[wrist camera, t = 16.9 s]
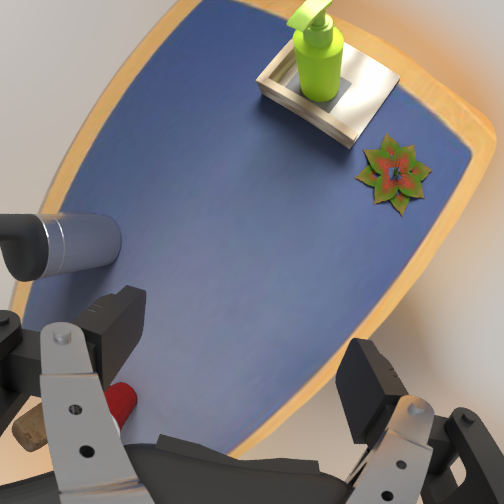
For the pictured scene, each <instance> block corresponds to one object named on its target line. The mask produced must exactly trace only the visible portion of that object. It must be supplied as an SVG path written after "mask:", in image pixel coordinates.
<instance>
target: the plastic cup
mask: <svg viewBox="0 0 504 504" xmlns="http://www.w3.org/2000/svg"><path fill="white" fill-rule="evenodd" d="M104 396H105V399H106V402H107V405H108V408H109V411H110V413H111V416H112V419H113V421H114V424H115V427H116V429H117V432H118V434H119V437H120V432H121V429H122V426H123V425H124V423H125V422H126V420H127V418H128V417H129V415H130V414H131V412H132V410H133V408H134V407H135V405H136V403H137V395H136V393H135V391H134V390H133V388H131V387H130V386H129V385H128V384H126V383H122V382H120V383H116V384H114V385H112V386H109V387H108V388H107V390H106V391H105V393H104Z"/></svg>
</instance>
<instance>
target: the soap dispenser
mask: <svg viewBox="0 0 504 504" xmlns="http://www.w3.org/2000/svg"><path fill="white" fill-rule="evenodd" d="M331 4H332V1H331V0H307V1H306V2H305V3H304V4H303V5H302V6H301V7H300V8H299V9H298V10H297V11H296V12H295V13H294V14H293V16H292V17H291V18H290V19H289V21H288V22H287V24H286V25H288V26H290V27H292V28H294V29H297V30H296V31H295V33H294V35H293V44H294V49H295V55H296V61H297V67H298V73H299V80H300V86H301V90H302V92H303V94H304V95H305V96H306V97H307V98H309V99H311V100H313V101H316V102H325V101H329V100H331V99H332V98H334V97H335V96H336V94H337V93H338V90H339V82H340V74H341V65H342V56H343V47H344V39H343V36H342V34H341V33H340V31H339V30H338V29H337V28H335V27H334V23H333V20H332V18H331V17H330V16H329V15H327V14H325V10H326V9H327V8H328V7H329V6H330V5H331Z"/></svg>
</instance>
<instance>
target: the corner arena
mask: <svg viewBox="0 0 504 504" xmlns="http://www.w3.org/2000/svg"><path fill="white" fill-rule="evenodd" d="M399 79H400V76H398V75H397V74H395V73H394V72H392V71H391V70H389V69H388V68H386V67H385V66H383V65H382V64H380V63H378V62H377V61H375V60H374V59H372V58H370V57H369V56H367V55H365V54H364V53H362V52H360V51H358V50H357V49H355V48H353V47H351V46H350V45H348V44H346V43H344V47H343V56H342V65H341V74H340V82H339V90H338V93H337V94H336V96H335V97H334V98H332V99H331V100H329V101H325V102H316V101H313V100H311V99H309V98H307V97H306V96H305V95H304V94H303V92H302V90H301V86H300V80H299V73H298V67H297V61H296V55H295V49H294V44H293V38H292V39H291V40H290V41H289V42H288V43H287V44H286V46H285V47H284V48H283V49H282V50H281V51H280V52H279V54H278V55H277V56H276V57H275V58H274V59H273V60H272V62H271V63H270V64H269V65H268V66H267V67H266V69H265V70H264V71H263V72H262V73H261V75H260V76H259V77H258V78H257V79H256V82H257V84H258V86H259V88H260V91H261V93H262V94H263V95H265V96H267V97H268V98H270V99H272V100H274V101H275V102H277V103H279V104H280V105H282V106H284V107H285V108H287V109H289V110H290V111H292V112H294V113H295V114H297V115H299V116H300V117H302V118H303V119H305V120H307V121H308V122H310V123H311V124H313V125H314V126H316V127H317V128H319V129H320V130H322V131H323V132H325V133H326V134H328V135H329V136H331V137H332V138H334V139H335V140H337V141H338V142H340V143H341V144H342V145H344V146H345V147H347V148H348V149H349V150H350V148H351V147H352V146H353V144H354V143H355V141H356V140H357V139H358V137H359V136H360V134H361V133H362V132H363V130H364V129H365V127H366V126H367V125H368V123H369V122H370V120H371V119H372V117H373V116H374V115H375V113H376V112H377V110H378V109H379V108H380V106H381V105H382V103H383V102H384V100H385V99H386V98H387V96H388V95H389V93H390V92H391V90H392V89H393V88H394V86H395V85H396V83H397V82H398V80H399Z"/></svg>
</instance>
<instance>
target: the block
mask: <svg viewBox="0 0 504 504" xmlns="http://www.w3.org/2000/svg"><path fill="white" fill-rule="evenodd" d="M12 433H13V436H14V437H15V438H16V440H17V441H18V443H19V444H20V445H21V446H22V447H23V448H24V449H25V450H26V451H28V452H33V451H35V450H38V449H39V448H41V447H43V446H44V445H46V444H47V443H48V440H47V434H46V428H45V422H44V414H43V407H42V402H41V403H40V404H38V405H37V406H35V407H34V408H32V409H31V410H29V411H28V412H26V413H25V414H24V415H22V416H21V417H19V418H18V419H17V420H16V421H15V422H14V423H13V426H12Z"/></svg>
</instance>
